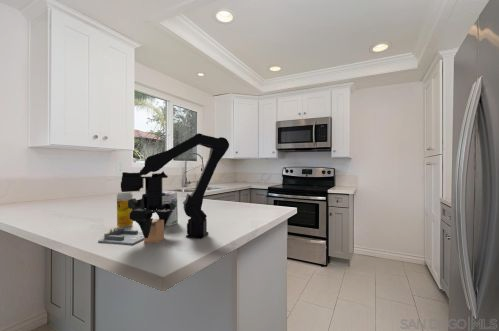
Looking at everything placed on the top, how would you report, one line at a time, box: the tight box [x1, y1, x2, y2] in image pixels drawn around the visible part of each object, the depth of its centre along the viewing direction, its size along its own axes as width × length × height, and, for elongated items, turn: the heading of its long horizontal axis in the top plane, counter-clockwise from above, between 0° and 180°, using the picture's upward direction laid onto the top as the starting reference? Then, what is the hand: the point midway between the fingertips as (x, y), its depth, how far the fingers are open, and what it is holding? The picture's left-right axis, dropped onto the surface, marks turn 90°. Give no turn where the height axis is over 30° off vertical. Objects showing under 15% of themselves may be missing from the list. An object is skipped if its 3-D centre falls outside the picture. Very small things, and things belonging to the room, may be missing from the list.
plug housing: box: [143, 218, 165, 244], centre depth 84 cm, size 5×5×7 cm
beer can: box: [116, 191, 134, 229], centre depth 103 cm, size 6×6×15 cm
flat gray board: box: [97, 226, 144, 246], centre depth 87 cm, size 14×12×3 cm
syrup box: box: [163, 191, 179, 227], centre depth 106 cm, size 6×6×14 cm
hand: (154, 234), depth 84 cm, fingers open, 9 cm apart
